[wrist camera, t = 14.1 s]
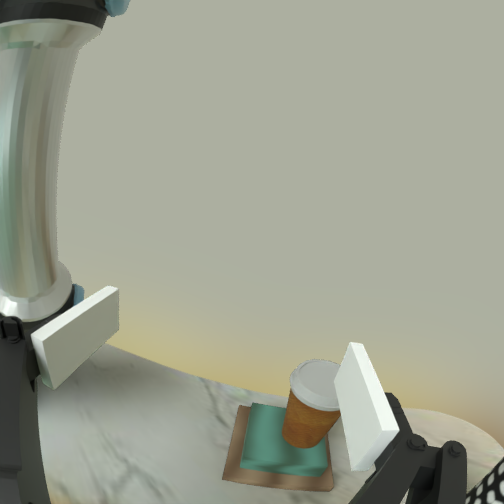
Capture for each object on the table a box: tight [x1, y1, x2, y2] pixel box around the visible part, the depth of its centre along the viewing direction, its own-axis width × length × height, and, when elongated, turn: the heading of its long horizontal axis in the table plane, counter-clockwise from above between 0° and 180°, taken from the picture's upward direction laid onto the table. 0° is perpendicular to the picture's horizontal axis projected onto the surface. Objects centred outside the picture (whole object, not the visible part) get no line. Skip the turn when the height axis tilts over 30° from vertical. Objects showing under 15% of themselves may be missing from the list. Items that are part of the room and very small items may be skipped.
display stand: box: [222, 403, 333, 491], centre depth 36 cm, size 16×16×5 cm
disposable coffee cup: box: [282, 359, 341, 449], centre depth 35 cm, size 10×10×12 cm
